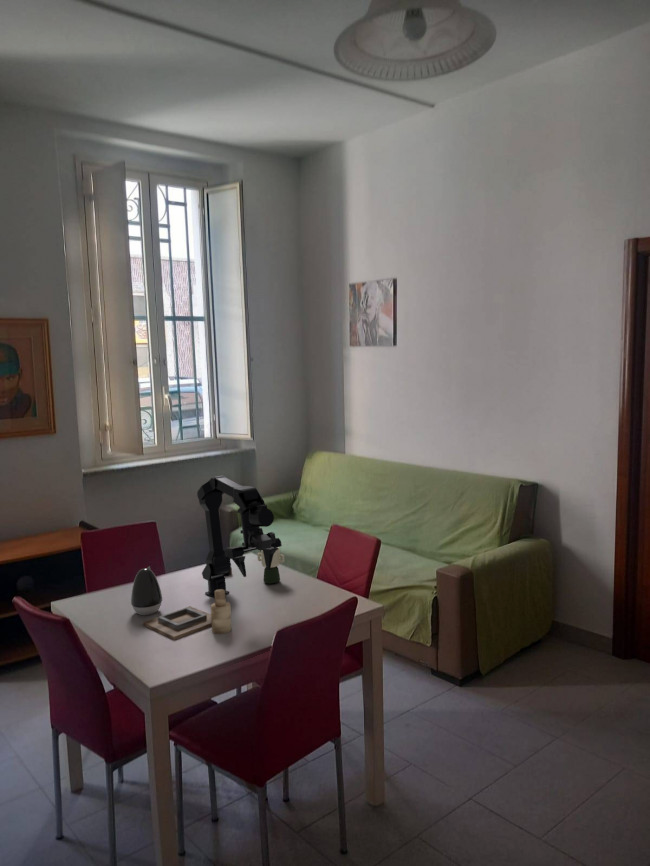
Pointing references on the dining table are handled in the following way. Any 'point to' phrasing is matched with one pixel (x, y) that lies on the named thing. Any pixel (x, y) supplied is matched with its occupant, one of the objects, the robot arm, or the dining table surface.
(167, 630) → the board
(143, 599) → the black egg-shaped body
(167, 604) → the dining table surface
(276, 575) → the cream and green trophy
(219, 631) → the wooden peg
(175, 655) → the dining table surface
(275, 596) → the dining table surface
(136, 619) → the dining table surface
